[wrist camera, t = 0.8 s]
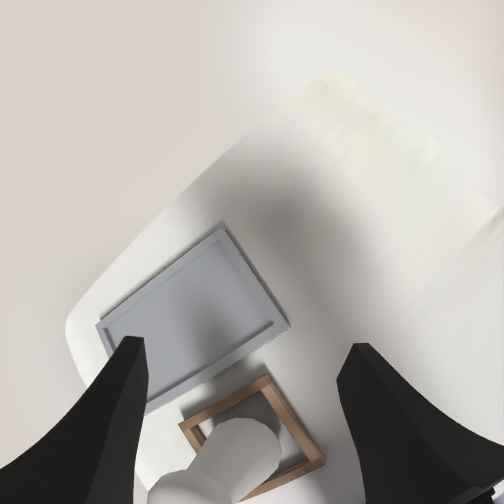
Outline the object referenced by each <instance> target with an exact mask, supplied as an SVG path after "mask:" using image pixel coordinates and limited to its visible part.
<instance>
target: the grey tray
mask: <svg viewBox="0 0 504 504" xmlns="http://www.w3.org/2000/svg"><path fill="white" fill-rule="evenodd" d="M95 326H96V329H97V331H98V333H99V336H100V338H101V341H102V343H103V345H104V348H105V350H106V352H107V354H108V357H109V359H110V357H111V356H112V354H113V353H114V351H115V350H116V348H117V347H118V345H119V344H120V342H121V340H122V339H123V337H125V336H126V335H127V336H136V337H144V343H145V351H146V358H147V365H148V372H149V383H148V393H147V403H146V408H145V413H144V416H145V415H147V414H149V413H151V412H153V411H155V410H157V409H158V408H160V407H162V406H164V405H166V404H167V403H169V402H171V401H173V400H175V399H176V398H178V397H180V396H182V395H183V394H185V393H187V392H189V391H190V390H192V389H194V388H195V387H197V386H199V385H201V384H202V383H204V382H206V381H207V380H209V379H211V378H212V377H214V376H216V375H217V374H219V373H221V372H222V371H224V370H225V369H227V368H229V367H230V366H232V365H233V364H235V363H237V362H238V361H240V360H241V359H243V358H245V357H246V356H248V355H249V354H251V353H252V352H254V351H255V350H257V349H259V348H260V347H262V346H263V345H265V344H266V343H268V342H269V341H271V340H272V339H274V338H275V337H277V336H278V335H280V334H281V333H283V332H284V331H286V330H287V329H289V328H290V326H289V324H288V323H287V321H286V320H285V318H284V317H283V315H282V314H281V312H280V311H279V309H278V308H277V306H276V305H275V303H274V302H273V300H272V299H271V297H270V296H269V294H268V293H267V291H266V290H265V288H264V287H263V285H262V284H261V282H260V281H259V279H258V278H257V276H256V275H255V273H254V272H253V271H252V269H251V268H250V266H249V265H248V263H247V262H246V260H245V259H244V257H243V256H242V254H241V253H240V251H239V250H238V248H237V247H236V245H235V243H234V242H233V240H232V239H231V237H230V236H229V234H228V233H227V231H226V230H225V229H224V228H223V227H220V228H219V229H218V230H216V231H215V232H214V233H212V234H211V235H210V236H208V237H207V238H206V239H204V240H203V241H202V242H200V243H199V244H198V245H196V246H195V247H194V248H192V249H191V250H190V251H188V252H187V253H186V254H184V255H183V256H182V257H181V258H179V259H178V260H177V261H175V262H174V263H173V264H171V265H170V266H169V267H168V268H166V269H165V270H164V271H162V272H161V273H160V274H159V275H157V276H156V277H155V278H153V279H152V280H151V281H150V282H148V283H147V284H146V285H145V286H143V287H142V288H141V289H139V290H138V291H137V292H136V293H134V294H133V295H132V296H131V297H129V298H128V299H127V300H126V301H124V302H123V303H122V304H121V305H119V306H118V307H117V308H116V309H114V310H113V311H112V312H111V313H110V314H108V315H107V316H106V317H105V318H103V319H102V320H101V321H100V322H99V323H97V324H96V325H95Z"/></svg>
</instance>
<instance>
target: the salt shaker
mask: <svg viewBox="0 0 504 504" xmlns="http://www.w3.org/2000/svg"><path fill="white" fill-rule="evenodd" d="M281 453H282V450H281V447H280V443H279V440H278V437H277V436H276V435H275V434H274V433H273V431H272V430H271V429H270V428H269V427H268V426H267V425H265V424H263V423H261V422H259V421H257V420H255V419H253V418H232V419H229V420H227V421H224V422H222V423H219V424H217V426H216V427H215V428H214V430H213V431H212V432H211V433H210V435H209V436H208V438H207V439H206V441H205V443H204V444H203V446H202V448H201V449H200V451H199V452H198V454H197V456H196V457H195V459H194V460H193V461H192V463H191V464H190V466H189V467H188V469H187V470H180V471H176V472H172V473H168V474H166V475H164V476H162V477H161V478H160V479H159V480H158V481H157V482H156V483H155V485H154V486H153V487H152V488H151V489H150V490H149V491H148V500H147V504H236V503H237V502H238V501H240V500H241V499H242V498H244V497H245V496H246V495H247V494H248V493H250V492H251V491H252V490H254V489H255V488H256V487H257V486H259V485H260V484H261V483H263V482H264V481H265V480H266V479H268V478H269V477H270V476H271V475H272V474H273V473H274V472H275V471H276V470H277V469H278V466H279V462H280V458H281Z"/></svg>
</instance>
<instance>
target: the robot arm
mask: <svg viewBox="0 0 504 504" xmlns="http://www.w3.org/2000/svg"><path fill="white" fill-rule="evenodd" d="M336 380H337V386H338V392H339V397H340V401H341V405H342V408H343V411H344V414H345V417H346V420H347V423H348V426H349V429H350V432H351V435H352V438H353V441H354V444H355V447H356V450H357V453H358V457H359V461H360V466H361V471H362V476H363V482H364V489H365V497H366V504H504V493H503V494H501V495H500V496H498V497H497V498H495V499H494V500H492V497H491V496H492V495H494V494H495V490H494V488H493V487H494V486H495V485H497V484H498V483H499V482H501V481H502V480H504V446H503V445H500V444H497V443H495V442H492V441H490V440H488V439H486V438H484V437H482V436H480V435H478V434H476V433H474V432H472V431H470V430H468V429H467V428H465V427H464V426H462V425H460V424H459V423H457V422H456V421H454V420H453V419H451V418H450V417H448V416H447V415H446V414H444V413H443V412H442V411H440V410H439V409H438V408H436V407H435V406H434V405H433V404H431V403H430V402H429V401H428V400H427V399H425V398H424V397H423V396H422V395H421V394H420V393H419V392H418V391H416V390H415V389H414V388H413V387H412V386H411V385H410V384H409V383H408V382H407V381H406V380H405V379H404V378H403V377H402V376H401V375H400V374H399V373H398V372H397V371H396V370H395V369H394V368H393V367H392V366H391V365H390V364H389V363H388V362H387V361H386V360H385V359H384V358H383V357H382V356H381V355H380V354H379V353H378V352H377V351H376V350H375V349H374V348H373V347H372V346H371V345H370V344H369V343H354V344H353V346H352V348H351V350H350V352H349V354H348V356H347V359H346V361H345V363H344V365H343V367H342V369H341V371H340V373H339V375H338V377H337V379H336ZM148 383H149V372H148V365H147V358H146V351H145V343H144V337H136V336H127V335H126V336H125V337H123V339H122V340H121V342H120V344H119V345H118V347H117V348H116V350H115V351H114V353H113V354H112V356H111V357H110V359H109V360H108V362H107V363H106V365H105V366H104V368H103V369H102V370H101V372H100V373H99V374H98V376H97V377H96V378H95V380H94V381H93V383H92V384H91V385H90V386H89V388H88V389H87V390H86V391H85V393H84V394H83V395H82V396H81V398H80V399H79V400H78V401H77V403H76V404H75V405H74V406H73V407H72V408H71V409H70V410H69V412H68V413H67V414H66V415H65V416H64V417H63V418H62V419H61V420H60V421H59V422H58V423H57V424H56V425H55V426H54V427H53V428H52V429H51V430H50V431H49V432H48V433H47V434H46V435H45V436H44V437H42V438H41V439H40V440H39V441H38V442H37V443H36V444H34V445H33V446H32V447H31V448H29V449H28V450H27V451H25V452H24V453H23V454H22V455H20V456H19V457H18V458H16V459H15V460H14V461H12V462H11V463H9V464H8V465H6V466H4V467H3V468H1V469H0V504H133V488H134V468H135V460H136V453H137V448H138V443H139V437H140V432H141V427H142V422H143V417H144V413H145V408H146V403H147V393H148Z"/></svg>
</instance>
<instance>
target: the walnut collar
mask: <svg viewBox="0 0 504 504" xmlns="http://www.w3.org/2000/svg"><path fill="white" fill-rule="evenodd" d="M259 390H261V391H262V393H263V394H264V396H265V397H266V399H267V400H268V402H269V403H270V405H271V406H272V407H273V409H274V410H275V412H276V413H277V415H278V416H279V418H280V419H281V421H282V422H283V424H284V425H285V426H286V428H287V429H288V431H289V432H290V434H291V435H292V437H293V438H294V439H295V441H296V442H297V444H298V445H299V446H300V448H301V449H302V451H303V452H304V453H305V455H306V456H307V458H308V459H306V460H304V461H302V462H300V463H298V464H296V465H294V466H292V467H290V468H288V469H286V470H284V471H282V472H280V473H277V474H275V475H273V476H271V477H269V478H268V479H266V480H265V481H264V482H263V483H261V484H260V485H259V486H257V487H256V488H255V489H254V490H252V491H251V492H250V493H248V494H247V495H246V496H245V497H244V498H242V499H241V500H240V501H238V502H241V501H244V500H246V499H249V498H252V497H254V496H257V495H260V494H262V493H265V492H267V491H269V490H272V489H274V488H277V487H279V486H281V485H284V484H286V483H288V482H290V481H292V480H295V479H297V478H299V477H301V476H303V475H305V474H307V473H309V472H311V471H313V470H315V469H317V468H319V467H321V466H323V465H325V461H326V458H325V457H324V456H323V454H322V453H321V451H320V450H319V449H318V447H317V446H316V445H315V443H314V442H313V440H312V439H311V437H310V436H309V435H308V433H307V432H306V430H305V429H304V427H303V426H302V425H301V423H300V422H299V420H298V419H297V417H296V416H295V415H294V413H293V412H292V410H291V409H290V407H289V406H288V404H287V403H286V401H285V400H284V398H283V397H282V395H281V394H280V392H279V391H278V389H277V388H276V386H275V385H274V383H273V382H272V380H271V379H270V377H269V376H268V374H266V375H264V376H263V377H261V378H259V379H258V380H256V381H254V382H253V383H251V384H249V385H248V386H246V387H244V388H243V389H241V390H239V391H237V392H236V393H234V394H232V395H231V396H229V397H227V398H225V399H224V400H222V401H220V402H218V403H216V404H215V405H213V406H211V407H209V408H207V409H205V410H204V411H202V412H200V413H198V414H196V415H194V416H192V417H190V418H188V419H186V420H185V421H183V422H181V423H179V424H178V425H179V427H180V429H181V430H182V432H183V433H184V435H185V437H186V438H187V440H188V441H189V443H190V444H191V446H192V447H193V449H194V450H195V452H196V453H197V454H198V452H199V451H200V449H201V448H202V446H203V444H204V443H205V441H206V440H205V439H204V437H203V436H202V434H201V433H200V431H199V430H198V428H197V427H196V425H197V424H199V423H201V422H203V421H205V420H207V419H209V418H211V417H213V416H215V415H217V414H218V413H220V412H222V411H224V410H226V409H228V408H230V407H231V406H233V405H235V404H237V403H239V402H240V401H242V400H244V399H246V398H247V397H249V396H251V395H252V394H254V393H256V392H258V391H259ZM238 502H237V503H238Z"/></svg>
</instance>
